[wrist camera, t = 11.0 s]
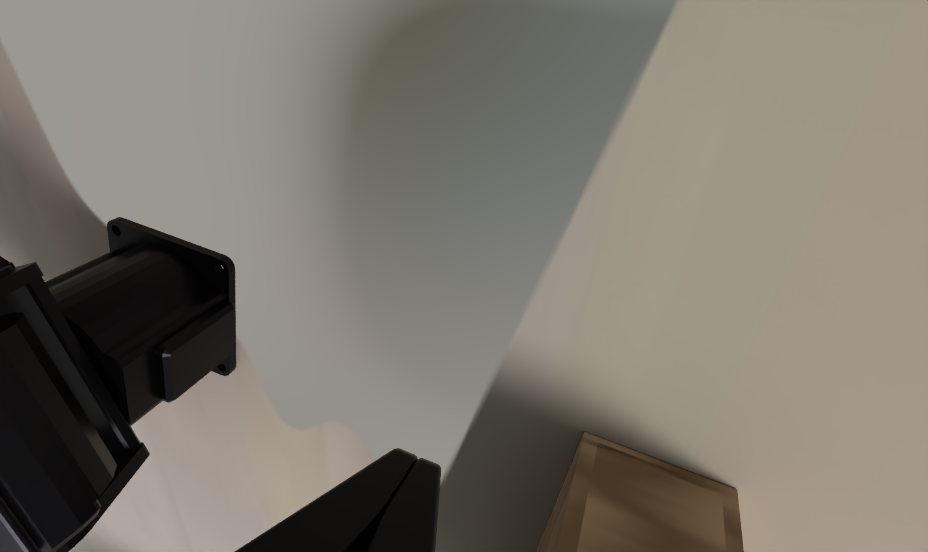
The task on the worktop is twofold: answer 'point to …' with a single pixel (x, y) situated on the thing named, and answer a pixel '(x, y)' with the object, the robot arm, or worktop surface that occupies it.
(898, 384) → the worktop surface
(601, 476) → the walnut box
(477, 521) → the worktop surface
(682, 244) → the worktop surface
